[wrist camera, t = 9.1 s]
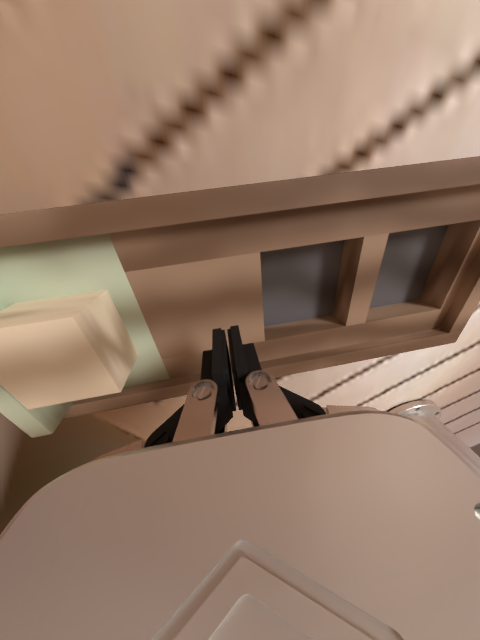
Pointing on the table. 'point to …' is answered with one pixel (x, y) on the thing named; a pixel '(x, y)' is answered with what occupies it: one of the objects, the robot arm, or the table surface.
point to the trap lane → (258, 273)
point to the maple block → (64, 349)
